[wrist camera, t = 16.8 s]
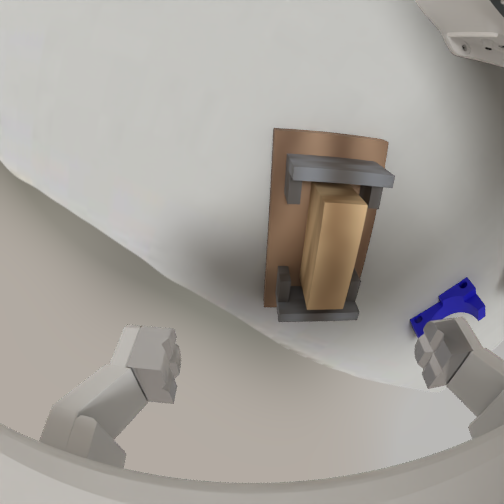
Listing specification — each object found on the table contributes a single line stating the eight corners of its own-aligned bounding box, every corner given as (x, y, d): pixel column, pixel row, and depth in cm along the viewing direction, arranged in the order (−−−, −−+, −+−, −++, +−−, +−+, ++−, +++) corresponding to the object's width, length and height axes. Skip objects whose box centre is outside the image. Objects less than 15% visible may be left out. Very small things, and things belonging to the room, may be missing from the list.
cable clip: (466, 276, 39) (484, 299, 34) (468, 293, 41) (485, 316, 36) (407, 313, 42) (421, 340, 37) (412, 328, 44) (425, 354, 39)
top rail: (348, 183, 30) (367, 205, 25) (331, 276, 36) (342, 309, 31) (311, 180, 30) (324, 202, 25) (299, 276, 36) (307, 309, 31)
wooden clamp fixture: (382, 139, 29) (410, 153, 23) (349, 299, 40) (361, 332, 35) (273, 128, 28) (279, 139, 23) (263, 299, 40) (265, 335, 34)
